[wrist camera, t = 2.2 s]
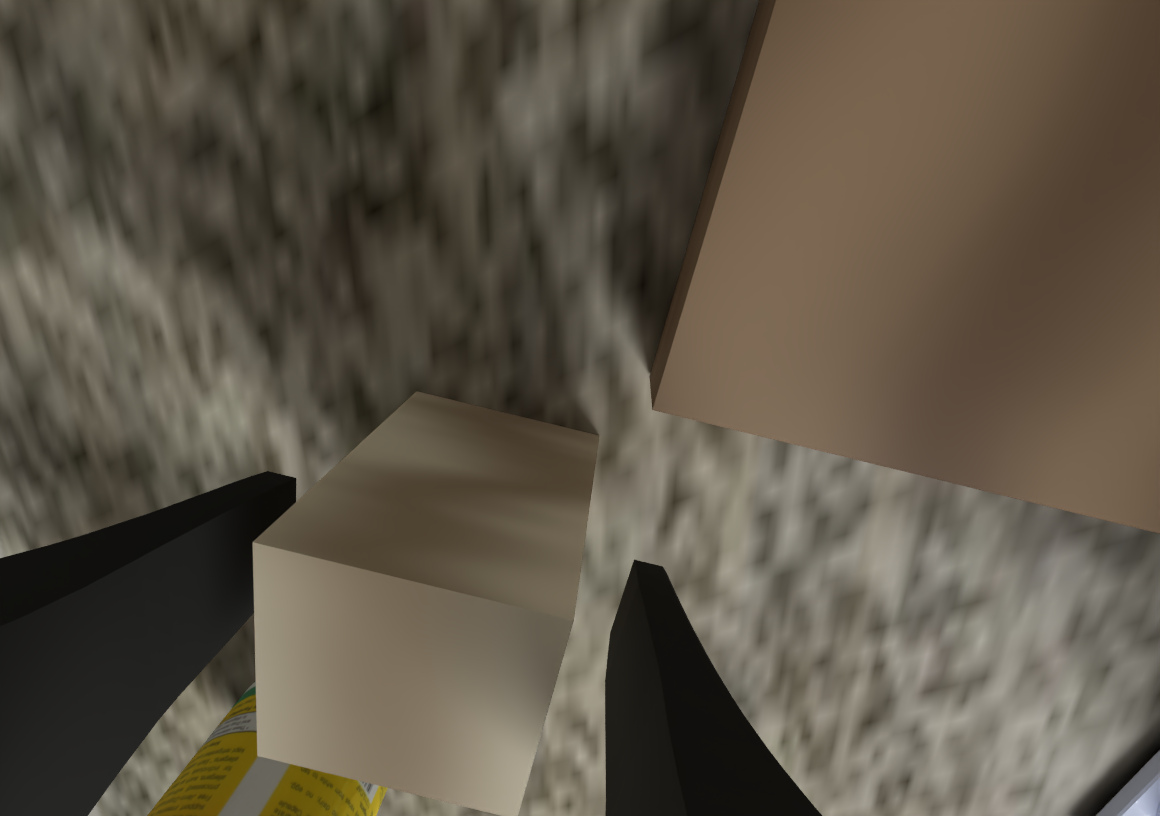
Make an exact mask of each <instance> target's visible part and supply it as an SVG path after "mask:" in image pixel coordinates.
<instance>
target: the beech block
mask: <svg viewBox="0 0 1160 816" xmlns="http://www.w3.org/2000/svg"><path fill="white" fill-rule="evenodd" d="M598 442H599V435H595V434H591V433H586V432H582V431H578V430H574V429H570V428H566V427H562V426H558V425H554V424H550V423H545V422H541V421H537V420H533V419H529V418H525V417H521V416H517V415H513V414H508V413H504V412H500V411H496V410H492V409H488V408H484V407H480V406H476V405H472V404H467V403H463V402H459V401H455V400H451V399H447V398H443V397H439V396H435V395H431V394H426V393H422V392H418V391H416V392H415V393H414V394H413V395H412V396H411V397H410V398H409V399H408V400H406V401H405V402H404V403H403V404H402V405H401V406H400V407H399V408H398V409H397V410H396V411H395V412H393V413H392V414H391V415H390V416H389V417H388V418H387V419H386V420H385V421H384V422H383V423H382V424H380V425H379V426H378V427H377V428H376V429H375V430H374V431H373V432H372V433H371V434H370V435H368V436H367V437H366V438H365V439H364V440H363V441H362V442H361V443H360V444H359V445H358V446H357V447H355V448H354V449H353V450H352V451H351V452H350V453H349V454H348V455H347V456H346V457H345V458H344V459H342V460H341V461H340V462H339V463H338V464H337V465H336V466H335V467H334V468H333V469H332V470H330V471H329V472H328V473H327V474H326V475H325V476H324V477H323V478H322V479H321V480H320V481H319V482H317V483H316V484H315V485H314V486H313V487H312V488H311V489H310V490H309V491H308V492H307V493H305V494H304V495H303V496H302V497H301V498H300V499H299V500H298V501H297V502H296V503H295V504H294V505H292V506H291V507H290V508H289V509H288V510H287V511H286V512H285V513H284V514H283V515H282V516H281V517H279V518H278V519H277V520H276V521H275V522H274V523H273V524H272V525H271V526H270V527H269V528H267V529H266V530H265V531H264V532H263V533H262V534H261V535H260V536H259V537H258V538H257V539H256V540H254V541H253V583H254V627H255V672H256V717H257V756H260V757H264V758H268V759H272V760H276V761H280V762H284V763H288V764H293V765H297V766H301V767H305V768H309V769H313V770H317V771H321V772H325V773H329V774H334V775H338V776H342V777H346V778H350V779H354V780H358V781H362V782H366V783H370V784H374V785H379V786H383V787H387V788H391V789H395V790H399V791H403V792H407V793H411V794H415V795H419V796H424V797H428V798H432V799H436V800H440V801H444V802H448V803H452V804H456V805H460V806H464V807H469V808H473V809H477V810H481V811H485V812H489V813H493V814H497V815H501V816H518V813H519V810H520V806H521V803H522V799H523V796H524V792H525V789H526V785H527V782H528V778H529V775H530V771H531V768H532V764H533V761H534V757H535V754H536V750H537V747H538V743H539V740H540V736H541V733H542V729H543V726H544V722H545V719H546V715H547V712H548V708H549V705H550V701H551V698H552V694H553V691H554V687H555V684H556V681H557V677H558V674H559V670H560V667H561V663H562V660H563V656H564V653H565V649H566V646H567V642H568V639H569V635H570V632H571V628H572V625H573V621H574V615H575V608H576V600H577V593H578V586H579V579H580V572H581V564H582V557H583V550H584V543H585V536H586V528H587V521H588V514H589V507H590V500H591V493H592V485H593V478H594V471H595V464H596V457H597V449H598Z"/></svg>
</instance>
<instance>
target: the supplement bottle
mask: <svg viewBox="0 0 1160 816" xmlns="http://www.w3.org/2000/svg"><path fill="white" fill-rule="evenodd" d="M386 791H387V787H383V786H379V785H374V784H370V783H366V782H362V781H358V780H354V779H350V778H346V777H342V776H338V775H334V774H329V773H325V772H321V771H317V770H313V769H309V768H305V767H301V766H297V765H293V764H288V763H284V762H280V761H276V760H272V759H268V758H264V757H260V756H257V717H256V681H255V682H254V683H253V684H252V685H251V686H250V687H249V688H248V689H247V690H246V692H245V693H244V694H243V695H242V696H241V698H240V699H239V700H238V701H237V702H236V703H235V705H234V706H233V707H232V709H231V710H230V712H229V713H228V714H227V715H226V717H225V718H224V719H223V720H222V722H221V723H220V724H219V725H218V727H217V728H216V729H215V730H214V732H213V733H212V734H211V735H210V737H209V738H208V739H207V741H206V742H205V743H204V744H203V746H202V747H201V748H200V750H199V751H198V752H197V753H196V755H195V756H194V757H193V758H192V760H191V761H190V762H189V763H188V765H187V766H186V767H185V769H184V770H183V771H182V772H181V774H180V775H179V776H178V777H177V779H176V780H175V781H174V783H173V784H172V785H171V786H170V787H169V789H168V790H167V791H166V793H165V794H164V795H163V796H162V798H161V799H160V800H159V802H158V803H157V804H156V805H155V807H154V808H153V809H152V811H151V812H150V813H149V814H148V815H147V816H376V815H377V812H378V810H379V807H380V805H381V802H382V800H383V798H384V795H385V793H386Z"/></svg>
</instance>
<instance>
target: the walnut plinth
mask: <svg viewBox="0 0 1160 816" xmlns="http://www.w3.org/2000/svg"><path fill="white" fill-rule="evenodd" d="M650 386H651V398H652V409H653V410H655V411H659V412H664V413H668V414H672V415H676V416H680V417H684V418H688V419H692V420H696V421H700V422H704V423H709V424H713V425H717V426H721V427H725V428H729V429H733V430H737V431H741V432H745V433H750V434H754V435H758V436H762V437H766V438H770V439H774V440H778V441H782V442H786V443H791V444H795V445H799V446H803V447H807V448H811V449H815V450H819V451H823V452H827V453H832V454H836V455H840V456H844V457H848V458H852V459H856V460H860V461H864V462H868V463H872V464H877V465H881V466H885V467H889V468H893V469H897V470H901V471H905V472H909V473H913V474H918V475H922V476H926V477H930V478H934V479H938V480H942V481H946V482H950V483H954V484H959V485H963V486H967V487H971V488H975V489H979V490H983V491H987V492H991V493H995V494H999V495H1004V496H1008V497H1012V498H1016V499H1020V500H1024V501H1028V502H1032V503H1036V504H1040V505H1045V506H1049V507H1053V508H1057V509H1061V510H1065V511H1069V512H1073V513H1077V514H1081V515H1086V516H1090V517H1094V518H1098V519H1102V520H1106V521H1110V522H1114V523H1118V524H1122V525H1127V526H1131V527H1135V528H1139V529H1143V530H1147V531H1151V532H1155V533H1159V534H1160V0H759V3H758V7H757V10H756V14H755V17H754V21H753V24H752V27H751V31H750V34H749V38H748V41H747V45H746V48H745V51H744V55H743V58H742V62H741V65H740V69H739V72H738V75H737V79H736V82H735V86H734V89H733V93H732V96H731V99H730V103H729V106H728V110H727V113H726V117H725V120H724V123H723V127H722V130H721V134H720V137H719V141H718V144H717V147H716V151H715V154H714V158H713V161H712V165H711V168H710V171H709V175H708V178H707V182H706V185H705V188H704V192H703V195H702V199H701V202H700V206H699V209H698V212H697V216H696V219H695V223H694V226H693V230H692V233H691V236H690V240H689V243H688V247H687V250H686V254H685V257H684V260H683V264H682V267H681V271H680V274H679V278H678V281H677V284H676V288H675V291H674V295H673V298H672V302H671V305H670V308H669V312H668V315H667V319H666V322H665V326H664V329H663V332H662V336H661V339H660V343H659V346H658V350H657V353H656V356H655V360H654V363H653V367H652V370H651V374H650Z"/></svg>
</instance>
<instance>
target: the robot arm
mask: <svg viewBox="0 0 1160 816" xmlns="http://www.w3.org/2000/svg"><path fill="white" fill-rule="evenodd" d="M295 503H296V478H294V477H290V476H285V475H281V474H277V473H273V472H269V471H267V472H264V473H260V474H257V475H254V476H251V477H248V478H245V479H242V480H239V481H236V482H234V483H231V484H228V485H225V486H223V487H220V488H217V489H215V490H212V491H209V492H207V493H204V494H201V495H198V496H196V497H193V498H190V499H188V500H185V501H182V502H179V503H177V504H174V505H171V506H168V507H166V508H163V509H160V510H157V511H155V512H152V513H149V514H146V515H143V516H140V517H137V518H134V519H131V520H128V521H125V522H122V523H119V524H116V525H113V526H110V527H107V528H104V529H101V530H98V531H95V532H92V533H89V534H86V535H82V536H79V537H76V538H72V539H69V540H66V541H62V542H59V543H55V544H52V545H48V546H45V547H41V548H37V549H34V550H30V551H26V552H22V553H18V554H15V555H11V556H7V557H3V558H0V816H88V815H89V813H90V812H91V810H92V809H93V808H94V806H95V805H96V803H97V802H98V801H99V799H100V798H101V796H102V795H103V794H104V792H105V791H106V790H107V788H108V787H109V785H110V784H111V783H112V781H113V780H114V778H115V777H116V776H117V774H118V773H119V772H120V770H121V769H122V768H123V766H124V765H125V764H126V762H127V761H128V760H129V758H130V757H131V756H132V754H133V753H134V752H135V750H136V749H137V748H138V746H139V745H140V744H141V743H142V741H143V740H144V739H145V737H146V736H147V735H148V733H149V732H150V731H151V729H152V728H153V727H154V725H155V724H156V723H157V721H158V720H159V719H160V718H161V716H162V715H163V714H164V713H165V712H166V711H167V709H168V708H169V707H170V706H171V705H172V703H173V702H174V701H175V700H176V699H177V697H178V696H179V695H180V694H181V693H182V692H183V691H184V690H185V688H186V687H187V686H188V685H189V684H190V683H191V682H192V681H193V680H194V679H195V677H196V676H197V675H198V674H199V673H200V672H201V671H202V670H203V669H204V667H205V666H206V665H207V664H208V663H209V662H210V661H211V660H212V659H213V657H214V656H215V655H216V654H217V653H218V652H219V651H220V650H221V649H222V648H223V646H224V645H225V644H226V643H227V642H228V641H229V640H230V639H231V638H232V636H233V635H234V634H235V633H236V632H237V631H238V630H239V629H240V628H241V626H242V625H243V624H244V623H245V622H246V621H247V620H248V619H249V617H250V616H251V615H252V614H253V613H254V583H253V541H254V540H256V539H257V538H258V537H259V536H260V535H261V534H262V533H263V532H264V531H265V530H266V529H267V528H269V527H270V526H271V525H272V524H273V523H274V522H275V521H276V520H277V519H278V518H279V517H281V516H282V515H283V514H284V513H285V512H286V511H287V510H288V509H289V508H290V507H291V506H292V505H294V504H295ZM605 730H606V816H822V815H821V814H820V813H819V812H818V810H817V809H816V808H815V807H814V806H813V805H812V803H811V802H810V801H809V800H808V798H807V797H806V796H805V795H804V794H803V792H802V791H801V790H800V789H799V787H798V786H797V785H796V784H795V783H794V781H793V780H792V779H791V778H790V776H789V775H788V774H787V773H786V772H785V770H784V769H783V768H782V767H781V765H780V764H779V763H778V761H777V760H776V759H775V757H774V756H773V755H772V754H771V752H770V751H769V750H768V748H767V747H766V746H765V744H764V743H763V741H762V740H761V739H760V737H759V736H758V734H757V733H756V732H755V730H754V729H753V727H752V726H751V724H750V723H749V722H748V720H747V719H746V717H745V716H744V715H743V713H742V712H741V710H740V709H739V707H738V705H737V704H736V702H735V701H734V699H733V698H732V696H731V694H730V693H729V691H728V690H727V688H726V686H725V685H724V683H723V681H722V680H721V678H720V676H719V675H718V673H717V671H716V670H715V668H714V666H713V664H712V663H711V661H710V659H709V657H708V656H707V654H706V652H705V650H704V648H703V646H702V644H701V643H700V641H699V639H698V637H697V635H696V633H695V631H694V629H693V627H692V626H691V624H690V622H689V620H688V618H687V616H686V613H685V611H684V609H683V607H682V605H681V603H680V601H679V599H678V597H677V595H676V593H675V590H674V588H673V586H672V584H671V582H670V579H669V577H668V575H667V573H666V571H665V569H664V568H663V567H662V566H658V565H654V564H650V563H646V562H641V561H637V560H634V562H633V565H632V568H631V571H630V574H629V577H628V580H627V583H626V587H625V590H624V593H623V596H622V599H621V602H620V605H619V608H618V611H617V614H616V617H615V620H614V623H613V626H612V629H611V632H610V641H609V650H608V659H607V669H606V679H605ZM1096 816H1160V750H1159V751H1158V752H1157V753H1156V754H1155V755H1154V756H1153V757H1152V758H1151V759H1150V760H1149V761H1148V762H1147V763H1146V764H1145V765H1144V766H1143V767H1142V768H1141V769H1140V770H1139V772H1138V773H1137V774H1136V775H1135V776H1134V777H1133V778H1132V779H1131V780H1130V781H1129V782H1128V783H1127V784H1126V785H1125V786H1124V787H1123V788H1122V789H1121V790H1120V791H1119V792H1118V793H1117V794H1116V795H1115V796H1114V797H1113V798H1112V799H1111V800H1110V801H1109V802H1108V803H1107V804H1106V805H1105V806H1104V807H1103V808H1102V809H1101V811H1100V812H1099V813H1098V814H1097V815H1096Z"/></svg>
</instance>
